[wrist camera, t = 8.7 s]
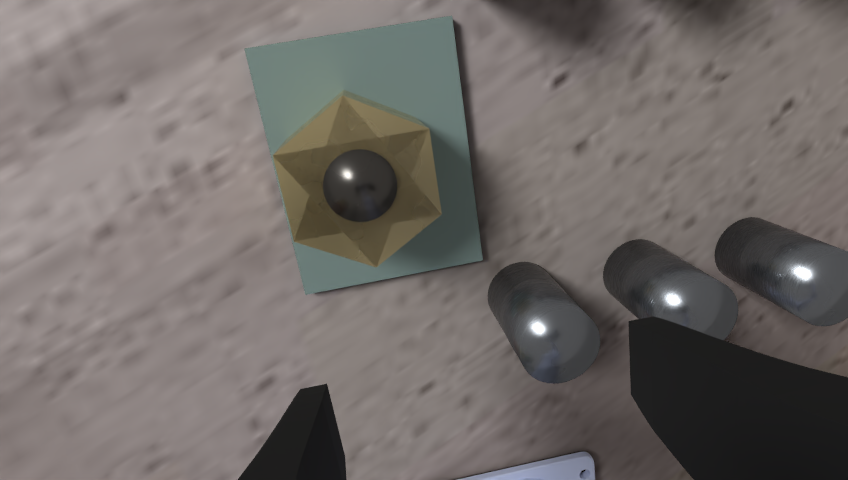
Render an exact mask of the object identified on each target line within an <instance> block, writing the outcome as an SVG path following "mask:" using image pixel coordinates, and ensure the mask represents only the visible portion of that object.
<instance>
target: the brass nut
mask: <svg viewBox="0 0 848 480" xmlns="http://www.w3.org/2000/svg"><path fill="white" fill-rule="evenodd" d="M273 159H274V163H275V167H276V171H277V175H278V180H279V184H280V188H281V192H282V196H283V200H284V204H285V208H286V212H287V216H288V220H289V224H290V228H291V232H292V236H293V241H294V242H296V243H300V244H303V245H306V246H309V247H312V248H316V249H319V250H322V251H325V252H328V253H332V254H335V255H338V256H341V257H344V258H348V259H351V260H354V261H357V262H360V263H364V264H367V265H370V266H373V267H378V266H379V265H380V264H381V263H382V262H384V261H385V260H386V259H387V258H389V257H390V256H391V255H392V254H394V253H395V252H396V251H397V250H398V249H400V248H401V247H402V246H403V245H405V244H406V243H407V242H408V241H410V240H411V239H412V238H413V237H415V236H416V235H417V234H418V233H419V232H421V231H422V230H423V229H424V228H426V227H427V226H428V225H429V224H431V223H432V222H433V221H434V220H435V219H437V218H438V217H439V216H440V215H442V212H441V205H440V198H439V192H438V185H437V178H436V171H435V164H434V158H433V151H432V144H431V137H430V130H429V128H428V127H427V126H425V125H424V124H423V123H422V122H421V121H419V120H418V119H417V118H416V117H413V116H411V115H408V114H405V113H403V112H400V111H398V110H395V109H393V108H390V107H387V106H385V105H382V104H380V103H377V102H374V101H372V100H369V99H367V98H364V97H362V96H359V95H356V94H354V93H351V92H349V91H346V90H343V91H342V92H341V93H339V94H338V95H337V96H336V97H335V98H334V99H332V100H331V101H330V102H329V103H328V104H327V105H325V106H324V107H323V108H322V109H321V110H320V111H319V112H317V113H316V114H315V115H314V116H313V117H312V118H310V119H309V120H308V121H307V122H306V123H305V124H303V125H302V126H301V127H300V128H299V129H298V130H296V131H295V132H294V133H293V134H292V135H291V136H289V137H288V138H287V139H286V140H285V141H284V143H283V144H282V145H281V146H280V147H279V149H278V150H277V151H276V152H275V153H274V155H273Z"/></svg>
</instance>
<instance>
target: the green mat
mask: <svg viewBox="0 0 848 480" xmlns="http://www.w3.org/2000/svg"><path fill="white" fill-rule="evenodd" d="M245 53H246V57H247V61H248V65H249V69H250V73H251V77H252V81H253V85H254V89H255V93H256V97H257V101H258V105H259V109H260V113H261V118H262V122H263V126H264V130H265V134H266V138H267V142H268V146H269V150H270V154H271V158H272V162H273V166H274V170H275V174H276V178H277V182H278V186H279V190H280V194H281V198H282V202H283V206H284V210H285V214H286V218H287V222H288V226H289V230H290V234H291V238H292V242H293V246H294V250H295V254H296V258H297V262H298V266H299V270H300V275H301V279H302V283H303V287H304V291H305V295H307V294H312V293H317V292H322V291H327V290H333V289H338V288H343V287H348V286H353V285H358V284H364V283H369V282H374V281H379V280H384V279H389V278H394V277H400V276H405V275H410V274H415V273H420V272H425V271H431V270H436V269H441V268H446V267H451V266H456V265H462V264H467V263H472V262H477V261H482V260H483V257H482V250H481V242H480V234H479V226H478V218H477V210H476V202H475V194H474V186H473V178H472V170H471V162H470V154H469V146H468V139H467V131H466V123H465V115H464V107H463V99H462V91H461V83H460V75H459V67H458V59H457V51H456V43H455V35H454V28H453V20H452V16H447V17H441V18H435V19H428V20H422V21H416V22H409V23H403V24H397V25H391V26H384V27H378V28H372V29H365V30H359V31H353V32H346V33H340V34H334V35H327V36H321V37H315V38H308V39H302V40H296V41H289V42H283V43H277V44H271V45H264V46H258V47H252V48H245ZM343 90H346V91H349V92H351V93H354V94H356V95H359V96H362V97H364V98H367V99H369V100H372V101H374V102H377V103H380V104H382V105H385V106H387V107H390V108H393V109H395V110H398V111H400V112H403V113H405V114H408V115H411V116H413V117H416V118H417V119H418V120H419V121H421V122H422V123H423V124H424V125H425V126H427V127H428V128H429V130H430V137H431V144H432V151H433V158H434V164H435V171H436V178H437V185H438V192H439V198H440V205H441V212H442V215H440V216H439V217H438V218H437V219H435V220H434V221H433V222H432V223H431V224H429V225H428V226H427V227H426V228H424V229H423V230H422V231H421V232H419V233H418V234H417V235H416V236H415V237H413V238H412V239H411V240H410V241H408V242H407V243H406V244H405V245H403V246H402V247H401V248H400V249H398V250H397V251H396V252H395V253H394V254H392V255H391V256H390V257H389V258H387V259H386V260H385V261H384V262H382V263H381V264H380V265H379V266H378V267H373V266H370V265H367V264H364V263H360V262H357V261H354V260H351V259H348V258H344V257H341V256H338V255H335V254H332V253H328V252H325V251H322V250H319V249H316V248H312V247H309V246H306V245H303V244H300V243H296V242H294V241H293V236H292V232H291V228H290V224H289V220H288V216H287V212H286V208H285V204H284V200H283V196H282V192H281V188H280V184H279V180H278V175H277V171H276V167H275V163H274V159H273V155H274V153H275V152H276V151H277V150H278V149H279V147H280V146H281V145H282V144H283V143H284V141H285V140H286V139H287V138H288V137H289V136H291V135H292V134H293V133H294V132H295V131H296V130H298V129H299V128H300V127H301V126H302V125H303V124H305V123H306V122H307V121H308V120H309V119H310V118H312V117H313V116H314V115H315V114H316V113H317V112H319V111H320V110H321V109H322V108H323V107H324V106H325V105H327V104H328V103H329V102H330V101H331V100H332V99H334V98H335V97H336V96H337V95H338V94H339V93H341V92H342V91H343Z"/></svg>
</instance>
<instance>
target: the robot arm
mask: <svg viewBox="0 0 848 480" xmlns="http://www.w3.org/2000/svg"><path fill="white" fill-rule="evenodd" d="M629 346H630V378H631V395H632V397H633V398H634V400H635V402H636V403H637V405H638V407H639V408H640V410H641V412H642V413H643V415H644V417H645V418H646V420H647V421H648V423H649V424H650V426H651V427H652V429H653V430H654V432H655V433H656V434H657V435H658V437H659V438H660V439H661V440H662V442H663V443H664V444H665V445H666V447H667V448H668V449H669V450H670V451H671V453H672V454H673V455H674V456H675V458H676V459H677V460H678V461H679V462H680V464H681V465H682V466H683V467H684V468H685V470H686V471H687V472H688V473H689V474H690V476H691V477H692V478H693V479H694V480H848V377H844V376H840V375H836V374H831V373H827V372H823V371H819V370H815V369H811V368H807V367H804V366H800V365H797V364H793V363H790V362H786V361H783V360H780V359H777V358H774V357H770V356H767V355H764V354H761V353H758V352H755V351H752V350H749V349H746V348H743V347H740V346H737V345H734V344H732V343H729V342H726V341H723V340H721V339H718V338H715V337H712V336H710V335H707V334H704V333H702V332H699V331H696V330H693V329H691V328H688V327H685V326H682V325H680V324H677V323H674V322H671V321H668V320H665V319H661V318H658V317H654V316H652V317H647V318H643V319H638V320H633V321H629ZM583 470H585V471H584V472H582V473H580V472H581V471H583ZM238 480H346V466H345V455H344V451H343V447H342V443H341V439H340V435H339V431H338V426H337V422H336V418H335V414H334V410H333V406H332V402H331V398H330V394H329V390H328V386H327V384H324V385H319V386H314V387H309V388H304V389H300V390H299V392H298V393H297V395H296V396H295V398H294V399H293V401H292V402H291V404H290V405H289V407H288V409H287V410H286V412H285V413H284V415H283V416H282V418H281V420H280V421H279V423H278V424H277V426H276V427H275V429H274V430H273V432H272V433H271V435H270V436H269V438H268V439H267V441H266V442H265V443H264V445H263V446H262V448H261V449H260V451H259V452H258V454H257V455H256V456H255V458H254V459H253V460H252V462H251V463H250V464H249V466H248V467H247V468H246V469H245V471H244V472H243V473H242V475H241V476H240V477H239V479H238ZM457 480H595V466H594V460H593V458H592V456H591V455H590V454H589V453H588V452H578V453H573V454H569V455H564V456H560V457H555V458H551V459H546V460H542V461H537V462H533V463H529V464H524V465H520V466H515V467H511V468H506V469H502V470H497V471H493V472H488V473H484V474H479V475H475V476H471V477H466V478H462V479H457Z"/></svg>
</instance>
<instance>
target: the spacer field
mask: <svg viewBox="0 0 848 480" xmlns="http://www.w3.org/2000/svg"><path fill="white" fill-rule="evenodd" d="M715 262H716V265H717V267H718V269H719V270H720V272H721V273H722V274H724V275H725V276H727V277H728V278H730V279H732V280H734V281H736V282H737V283H739V284H741V285H743V286H744V287H746V288H748V289H750V290H751V291H753V292H755V293H757V294H759V295H760V296H762V297H764V298H766V299H767V300H769V301H771V302H773V303H774V304H776V305H778V306H780V307H782V308H783V309H785V310H787V311H789V312H790V313H792V314H794V315H796V316H798V317H799V318H801V319H803V320H805V321H806V322H808V323H810V324H812V325H816V326H830V325H834V324H837V323H839V322H841V321H843V320H845V319H846V318H848V251H845V250H842V249H840V248H837V247H834V246H832V245H829V244H827V243H824V242H821V241H819V240H816V239H813V238H811V237H808V236H805V235H803V234H800V233H797V232H795V231H792V230H789V229H787V228H784V227H781V226H779V225H776V224H774V223H771V222H768V221H766V220H763V219H760V218H755V217H751V218H745V219H742V220H739V221H737V222H735V223H734V224H732V225H731V226H730V227H728V228H727V229H726V230H725V231H724V233H723V234H722V235H721V237H720V239H719V241H718V243H717V246H716V249H715ZM603 279H604V284H605V287H606V289H607V290H608V292H609V293H610V294H611V295H612V296H613V297H614V298H616V299H617V300H618V301H619V302H620V303H621V304H622V305H624V306H625V307H626V308H627V309H628V310H629V311H630V312H631V313H633V314H634V315H635V316H636V317H637V318H638V319H643V318H647V317H652V316H654V317H658V318H661V319H665V320H668V321H671V322H674V323H677V324H680V325H682V326H685V327H688V328H691V329H693V330H696V331H699V332H702V333H704V334H707V335H710V336H712V337H715V338H718V339H721V340H724V339H725V338H726V337H727V336H728V335H729V333H730V332H731V330H732V329H733V327H734V325H735V322H736V319H737V315H738V303H737V299H736V296H735V295H734V293H733V292H732V290H731V289H730V288H729V287H728V286H726V285H725V284H723V283H721V282H720V281H718V280H716V279H714V278H713V277H711V276H709V275H708V274H706V273H704V272H703V271H701V270H699V269H697V268H696V267H694V266H692V265H691V264H689V263H687V262H686V261H684V260H682V259H680V258H679V257H677V256H675V255H674V254H672V253H670V252H669V251H667V250H665V249H664V248H662V247H660V246H658V245H657V244H655V243H653V242H651V241H648V240H643V239H638V240H632V241H629V242H626V243H624V244H622V245H621V246H619V247H618V248H617V249H616V250H615V251H614V252H613V253H612V254H611V255H610V257H609V258H608V260H607V262H606V264H605V267H604V272H603ZM488 303H489V306H490V309H491V310H492V312H493V314H494V316H495V317H496V319H497V321H498V323H499V324H500V326H501V328H502V330H503V331H504V333H505V335H506V337H507V338H508V340H509V342H510V344H511V345H512V347H513V349H514V350H515V352H516V354H517V356H518V357H519V359H520V361H521V363H522V364H523V366H524V368H525V369H526V371H527V372H528V373H529V374H530V375H531V376H532V377H534V378H535V379H537V380H539V381H542V382H546V383H563V382H567V381H570V380H572V379H575V378H576V377H578V376H580V375H581V374H583V373H584V372H585V371H586V370H587V369H588V368H589V367H590V366H591V365H592V363H593V362H594V360H595V359H596V357H597V354H598V351H599V348H600V334H599V330H598V328H597V326H596V324H595V323H594V322H593V320H592V319H591V318H590V317H589V316H588V315H587V314H586V313H585V312H584V311H583V310H582V309H581V308H580V307H579V306H578V304H577V303H576V302H575V301H574V300H573V299H572V298H571V297H570V296H569V295H568V294H567V293H566V292H565V291H564V290H563V289H562V288H561V287H560V285H559V284H558V283H557V282H556V281H555V280H554V279H553V278H552V277H551V276H550V275H549V274H548V273H547V272H546V271H545V270H544V269H543V268H542V267H540V266H539V265H536V264H533V263H529V262H519V263H515V264H512V265H509V266H507V267H505V268H504V269H502V270H501V271H500V272H499V273H498V274H497V275H496V276H495V277H494V279H493V280H492V282H491V284H490V287H489V290H488Z"/></svg>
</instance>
